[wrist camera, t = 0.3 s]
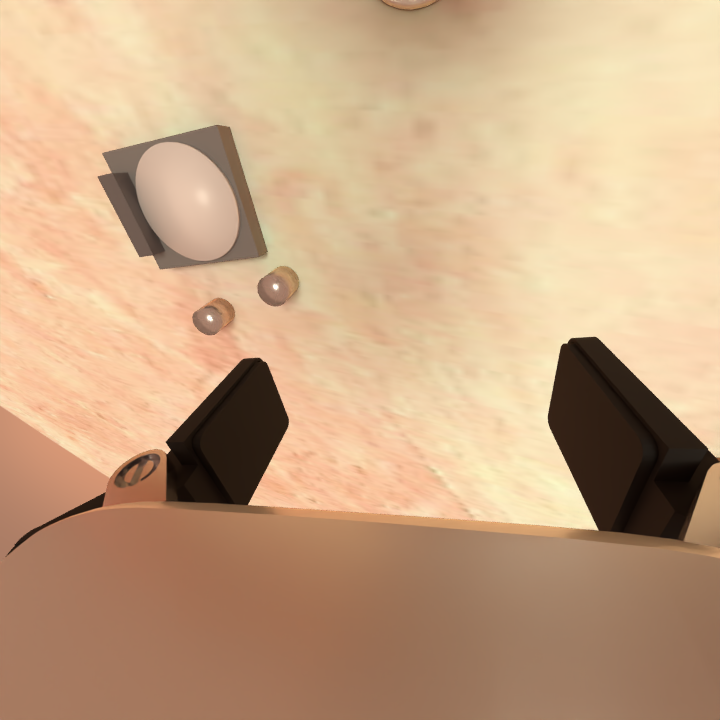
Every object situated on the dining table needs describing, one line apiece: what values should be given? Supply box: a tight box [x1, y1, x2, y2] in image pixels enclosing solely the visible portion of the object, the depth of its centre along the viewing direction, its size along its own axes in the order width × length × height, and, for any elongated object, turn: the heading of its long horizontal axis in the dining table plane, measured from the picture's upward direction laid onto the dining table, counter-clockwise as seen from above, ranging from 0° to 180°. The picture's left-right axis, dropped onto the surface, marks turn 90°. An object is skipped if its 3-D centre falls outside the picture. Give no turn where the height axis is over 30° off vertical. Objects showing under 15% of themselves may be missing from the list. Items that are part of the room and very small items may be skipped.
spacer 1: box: [192, 298, 235, 335], centre depth 50 cm, size 4×4×5 cm
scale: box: [98, 125, 267, 269], centre depth 41 cm, size 15×17×5 cm
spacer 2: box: [258, 266, 299, 306], centre depth 45 cm, size 4×4×5 cm
